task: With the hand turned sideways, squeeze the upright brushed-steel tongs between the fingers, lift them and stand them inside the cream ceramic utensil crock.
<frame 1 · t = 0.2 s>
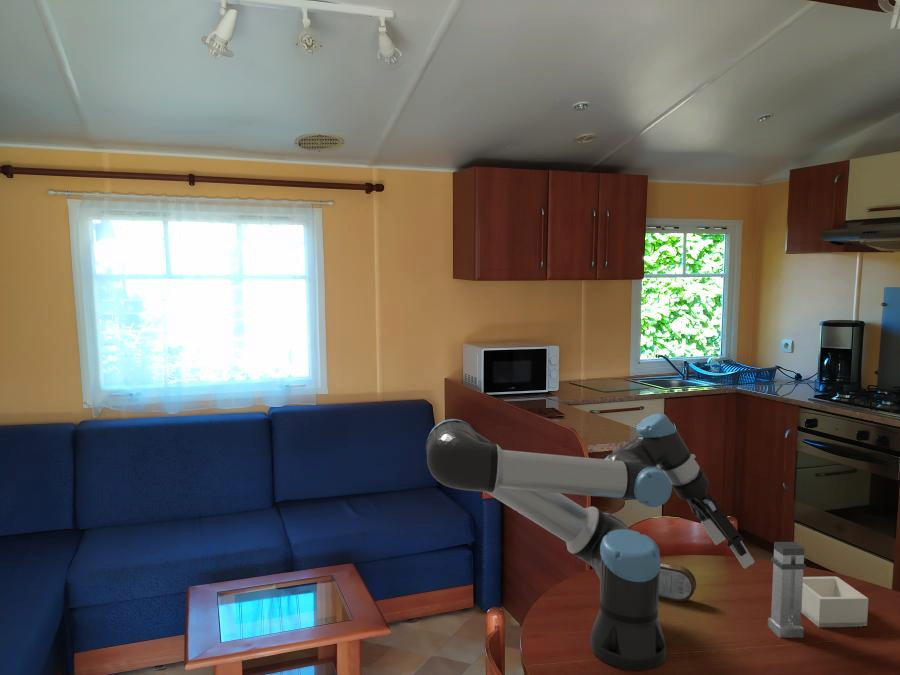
hand: (734, 552, 146), 15 cm above the table, tool tilted 35°, fingers open, 13 cm apart
crock: (827, 614, 148), on the table
tongs: (785, 631, 141), on the table
tin: (662, 597, 157), on the table
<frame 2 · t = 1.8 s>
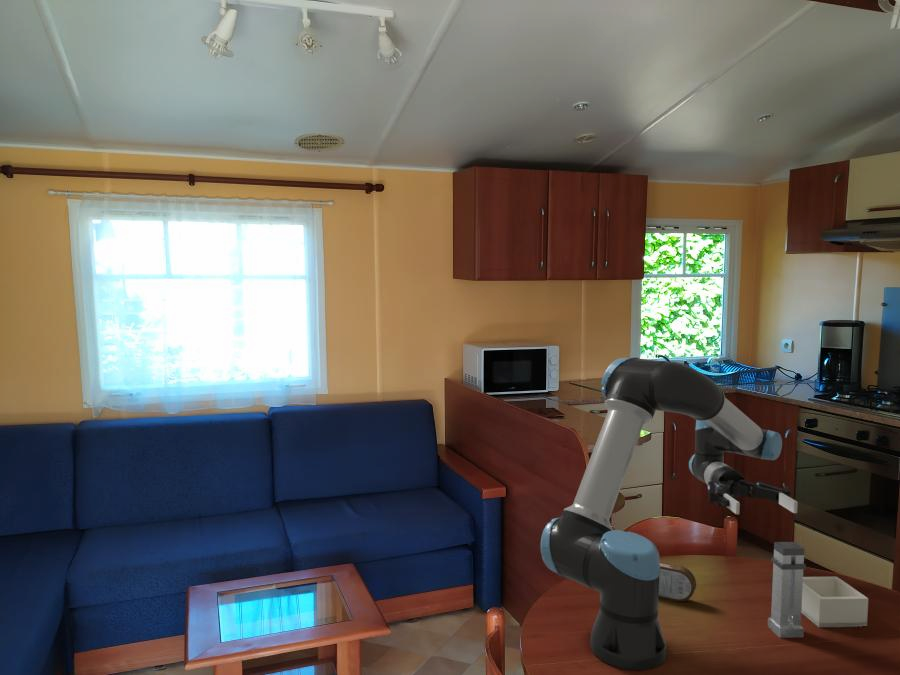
hand: (767, 508, 148), 25 cm above the table, tool horizontal, fingers open, 13 cm apart
nothing on the table moved.
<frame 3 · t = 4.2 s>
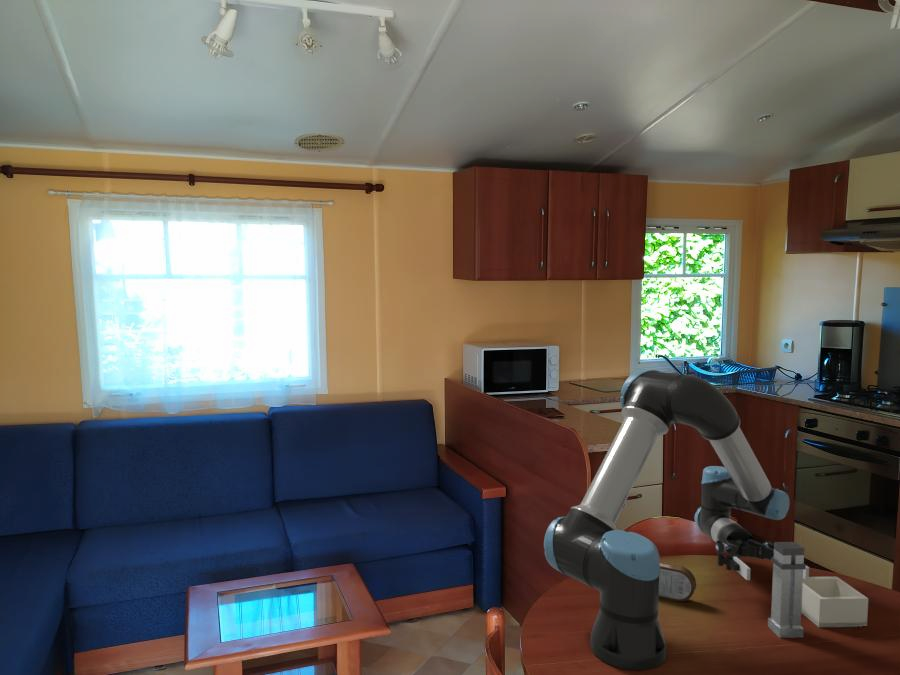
hand: (778, 574, 145), 11 cm above the table, tool horizontal, fingers open, 13 cm apart
nothing on the table moved.
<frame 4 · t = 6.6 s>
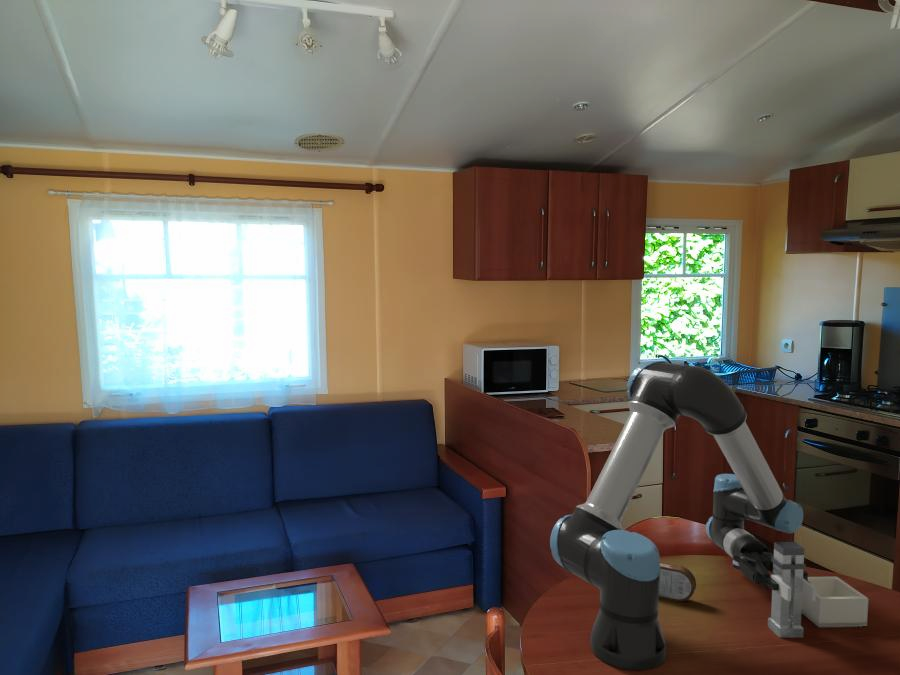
hand: (801, 594, 135), 11 cm above the table, tool horizontal, fingers closed on tongs, 5 cm apart
tongs: (785, 631, 141), on the table, touching gripper
everything else where it was.
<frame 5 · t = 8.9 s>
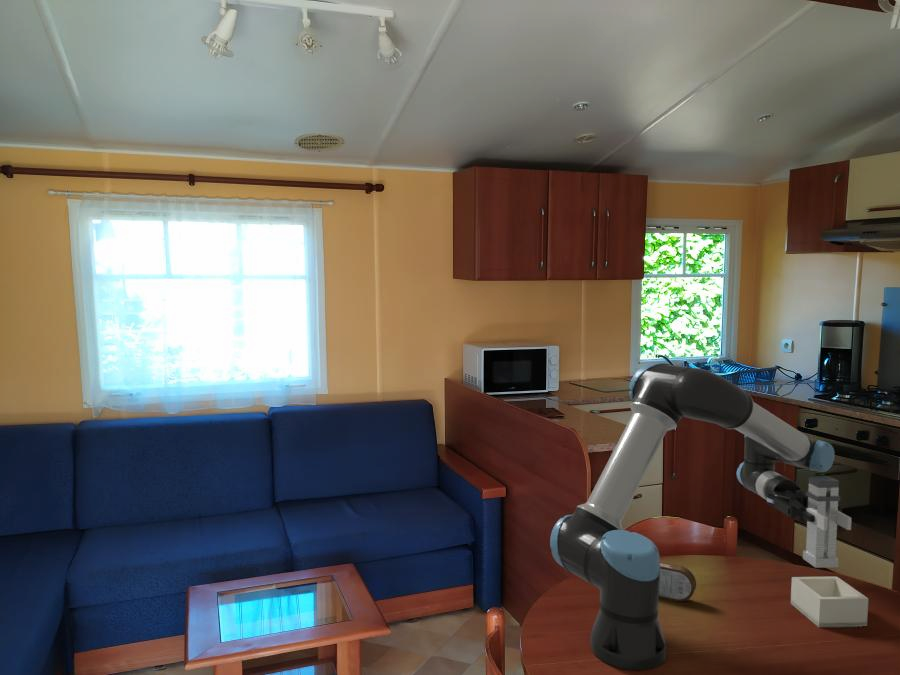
hand: (837, 524, 140), 24 cm above the table, tool horizontal, fingers closed on tongs, 5 cm apart
tongs: (820, 562, 146), point 13 cm above the table, touching gripper
everything else where it was.
when the fingers open (13 cm above the table, at t = 11.7 s): tongs drops 1 cm, resting on crock.
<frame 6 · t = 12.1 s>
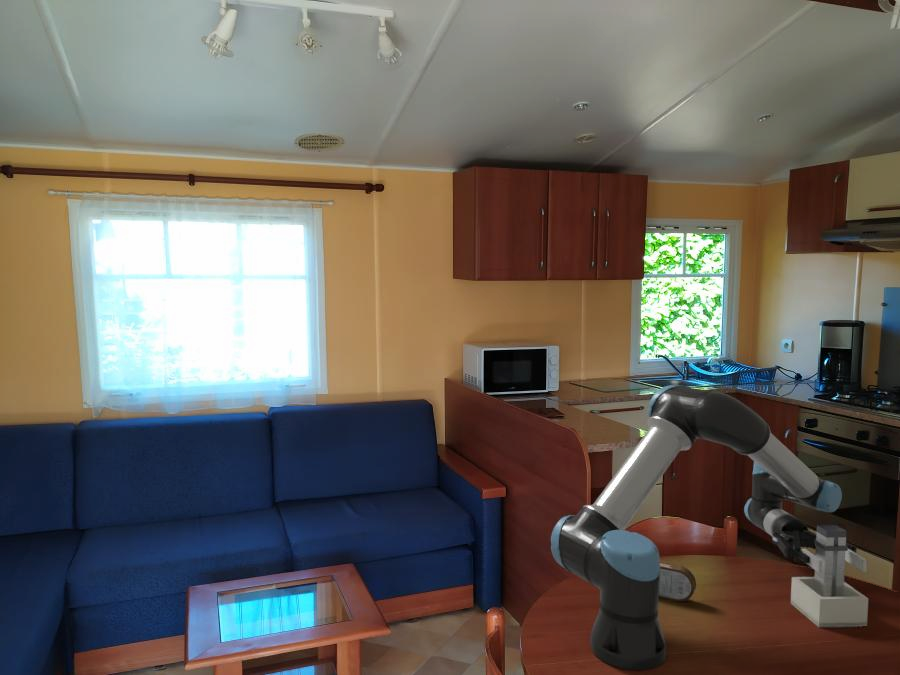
hand: (842, 566, 143), 13 cm above the table, tool horizontal, fingers open, 9 cm apart
tongs: (827, 610, 148), point 1 cm above the table, touching crock
everything else where it was.
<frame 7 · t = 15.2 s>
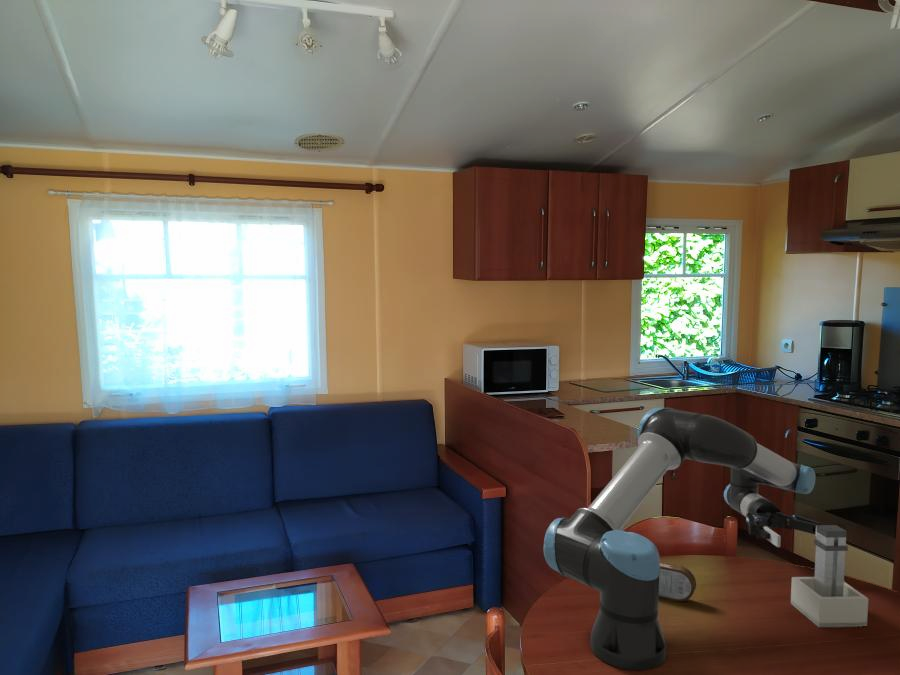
hand: (806, 541, 157), 14 cm above the table, tool horizontal, fingers open, 13 cm apart
nothing on the table moved.
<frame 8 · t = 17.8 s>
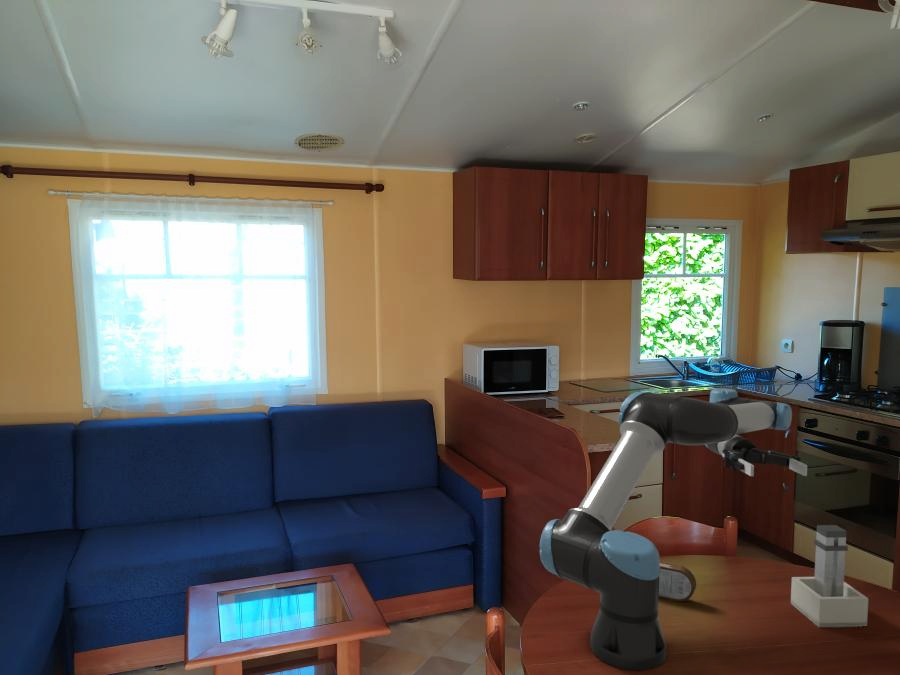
hand: (779, 470, 160), 30 cm above the table, tool horizontal, fingers open, 13 cm apart
nothing on the table moved.
at the end: tongs 0.0 cm off-centre on the crock, point 1.0 cm above the crock's base; tongs tilted 0°; the gripper is holding nothing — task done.
